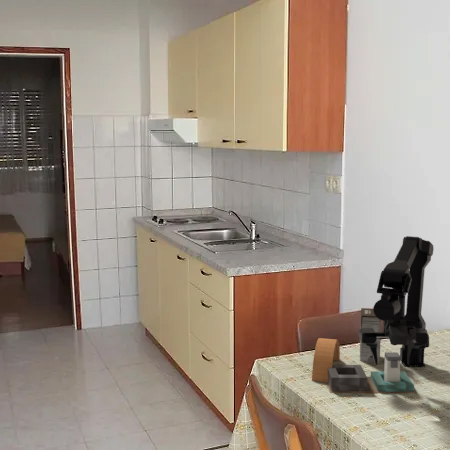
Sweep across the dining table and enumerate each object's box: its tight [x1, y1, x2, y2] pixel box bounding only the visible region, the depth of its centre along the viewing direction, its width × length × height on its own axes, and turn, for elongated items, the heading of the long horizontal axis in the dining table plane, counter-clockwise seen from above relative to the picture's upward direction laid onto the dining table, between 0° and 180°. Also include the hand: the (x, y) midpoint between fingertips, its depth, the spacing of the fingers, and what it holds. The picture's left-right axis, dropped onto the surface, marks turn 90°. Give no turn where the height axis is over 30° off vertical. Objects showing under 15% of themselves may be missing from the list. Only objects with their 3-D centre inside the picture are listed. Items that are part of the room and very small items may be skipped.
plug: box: [383, 351, 401, 382], centre depth 178 cm, size 4×4×9 cm
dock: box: [325, 364, 417, 394], centre depth 179 cm, size 24×12×5 cm, turn 89°
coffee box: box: [359, 307, 382, 363], centre depth 201 cm, size 9×6×16 cm
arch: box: [311, 337, 341, 383], centre depth 190 cm, size 6×20×10 cm, turn 162°
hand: (392, 364), depth 178 cm, fingers open, 9 cm apart
